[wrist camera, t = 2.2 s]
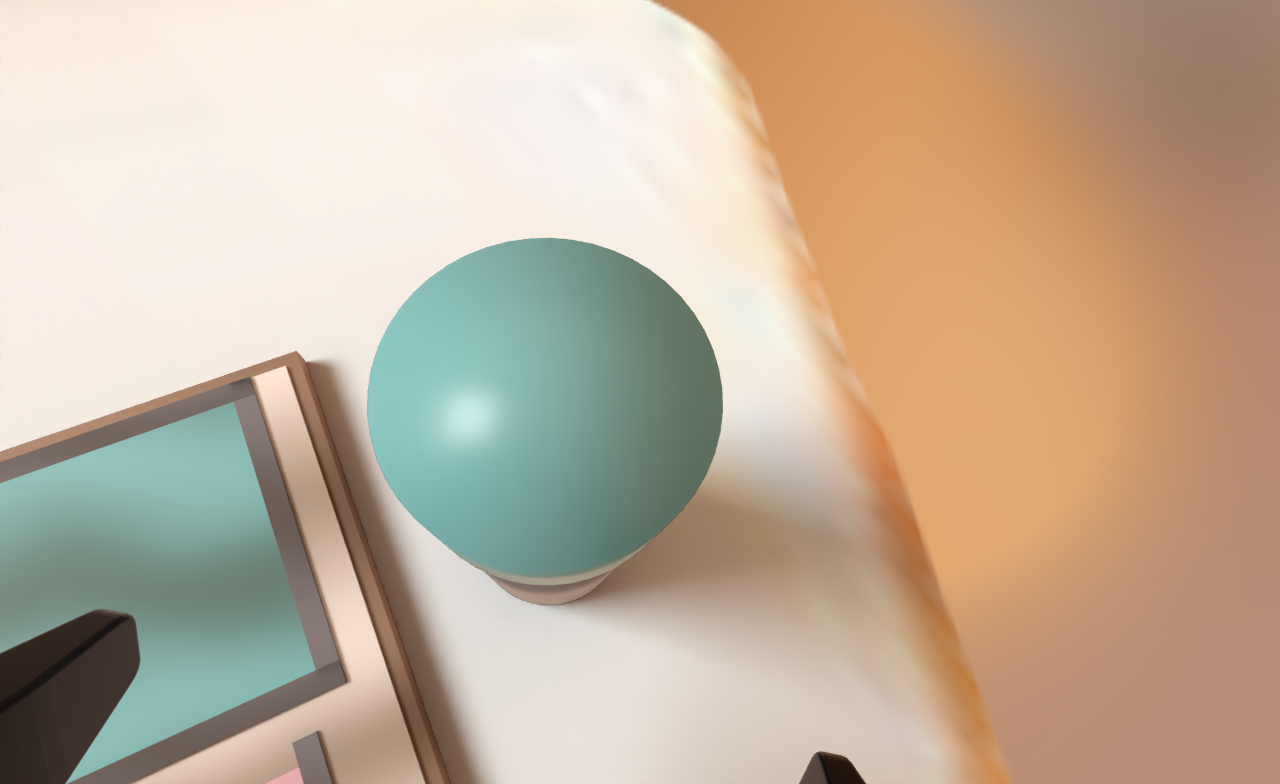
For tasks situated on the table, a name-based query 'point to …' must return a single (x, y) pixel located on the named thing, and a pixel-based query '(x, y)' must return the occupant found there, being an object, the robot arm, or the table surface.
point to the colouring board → (218, 588)
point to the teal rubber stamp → (545, 411)
